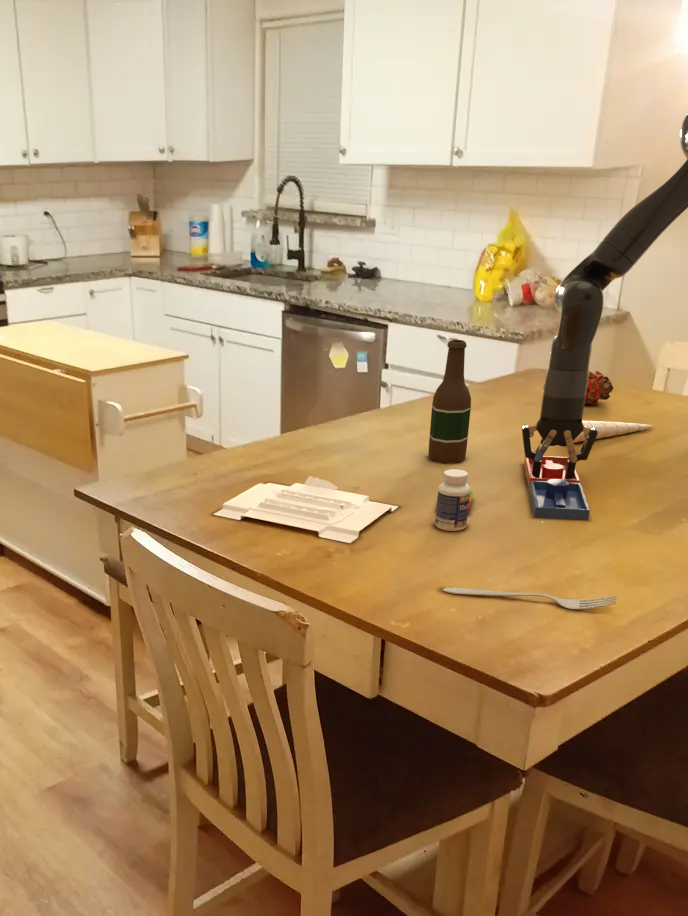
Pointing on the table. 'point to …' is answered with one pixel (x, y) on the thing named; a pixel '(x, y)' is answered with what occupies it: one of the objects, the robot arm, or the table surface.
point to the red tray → (528, 468)
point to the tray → (307, 508)
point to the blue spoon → (557, 491)
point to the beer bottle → (451, 410)
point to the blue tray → (573, 503)
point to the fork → (563, 602)
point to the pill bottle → (453, 501)
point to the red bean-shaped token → (552, 470)
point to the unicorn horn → (610, 428)
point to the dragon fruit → (597, 387)
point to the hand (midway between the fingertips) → (552, 478)
